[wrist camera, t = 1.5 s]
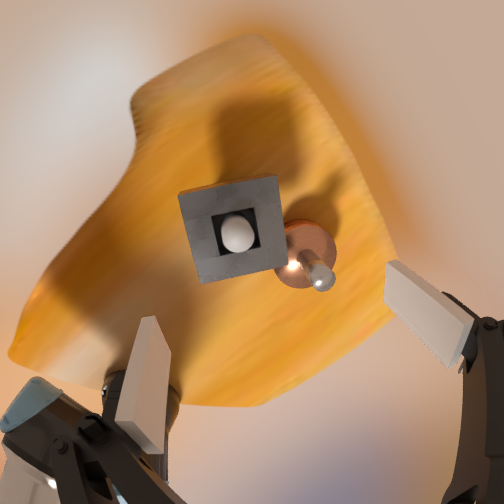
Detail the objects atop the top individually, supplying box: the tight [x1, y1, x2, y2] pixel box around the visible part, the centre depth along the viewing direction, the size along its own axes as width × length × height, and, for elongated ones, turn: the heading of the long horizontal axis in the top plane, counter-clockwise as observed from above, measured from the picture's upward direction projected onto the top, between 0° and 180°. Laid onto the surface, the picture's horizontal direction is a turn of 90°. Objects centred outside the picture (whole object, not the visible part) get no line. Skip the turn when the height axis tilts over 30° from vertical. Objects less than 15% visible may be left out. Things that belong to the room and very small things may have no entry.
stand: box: [212, 208, 257, 253], centre depth 28 cm, size 6×6×10 cm
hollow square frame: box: [178, 173, 289, 284], centre depth 26 cm, size 9×9×2 cm
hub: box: [273, 220, 337, 292], centre depth 32 cm, size 8×8×9 cm
